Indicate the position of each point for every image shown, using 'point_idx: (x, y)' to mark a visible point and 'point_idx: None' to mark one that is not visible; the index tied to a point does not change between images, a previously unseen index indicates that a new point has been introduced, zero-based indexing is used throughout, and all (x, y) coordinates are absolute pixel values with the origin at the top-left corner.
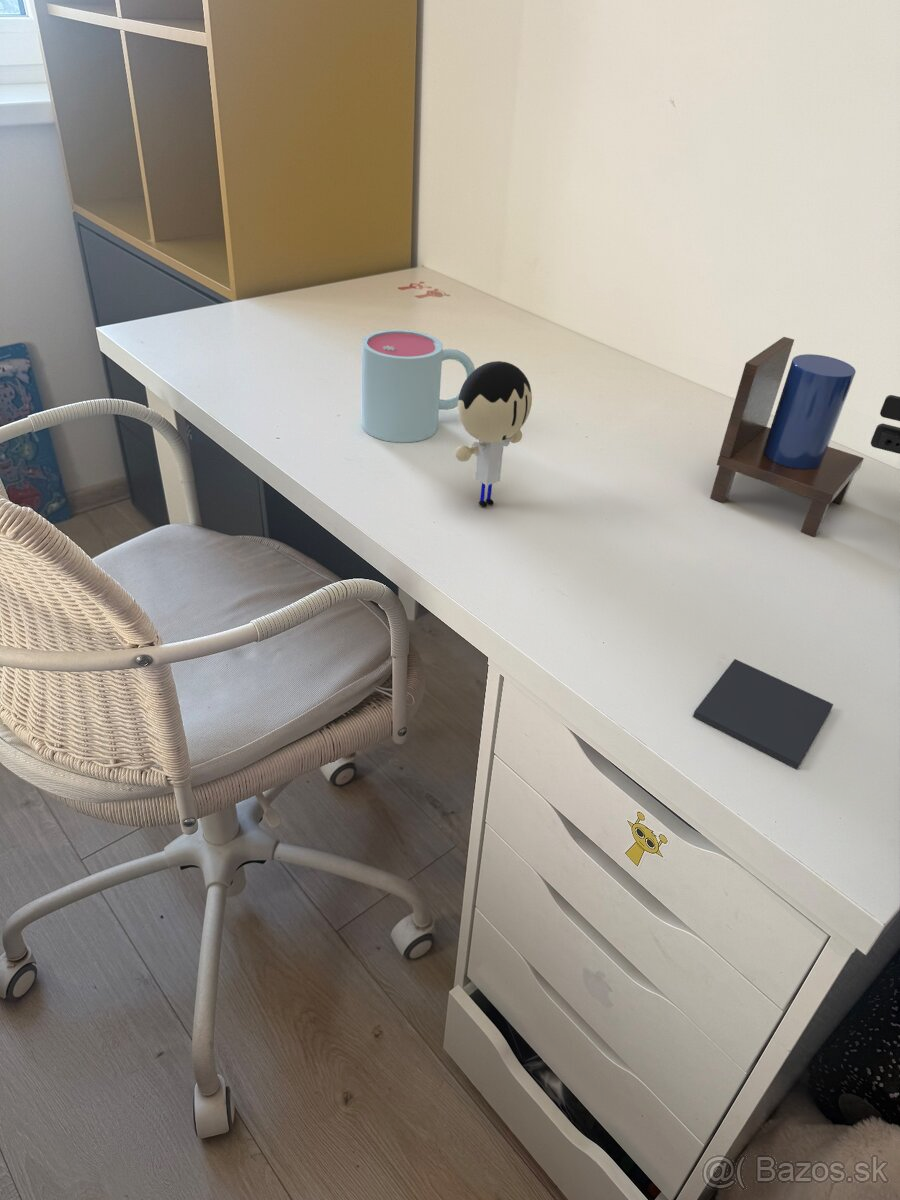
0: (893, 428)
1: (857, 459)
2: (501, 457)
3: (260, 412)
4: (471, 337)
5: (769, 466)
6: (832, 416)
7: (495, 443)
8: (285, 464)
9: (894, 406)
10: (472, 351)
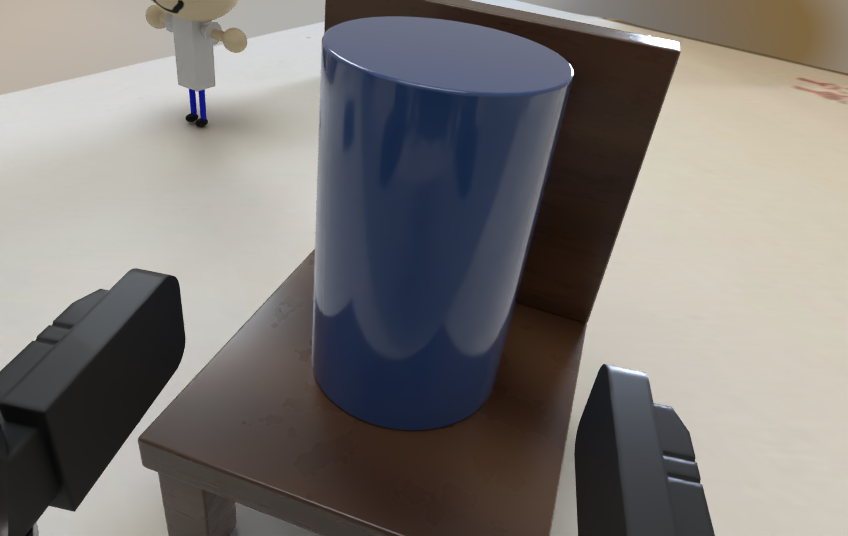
0: (100, 303)
1: None
2: (192, 52)
3: None
4: (729, 116)
5: (303, 307)
6: (342, 234)
7: (178, 20)
8: (251, 40)
9: (594, 429)
10: (682, 116)
